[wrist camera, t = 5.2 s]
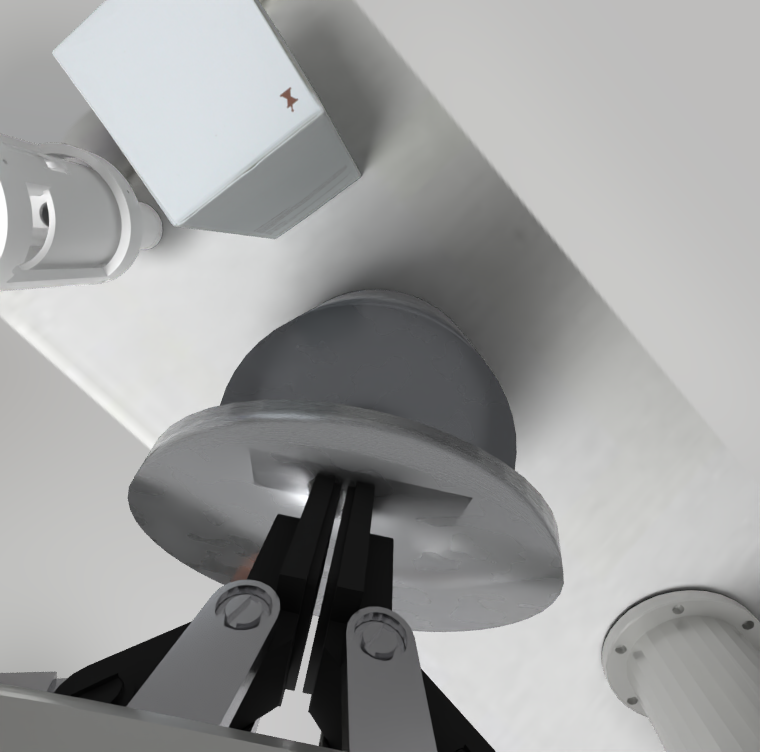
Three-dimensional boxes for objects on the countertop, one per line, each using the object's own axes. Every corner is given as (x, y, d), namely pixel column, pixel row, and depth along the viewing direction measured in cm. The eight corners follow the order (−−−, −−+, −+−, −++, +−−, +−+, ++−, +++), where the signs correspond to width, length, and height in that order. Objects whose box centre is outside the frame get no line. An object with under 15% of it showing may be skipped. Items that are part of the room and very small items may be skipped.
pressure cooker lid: (662, 474, 12) (709, 615, 9) (476, 620, 23) (476, 698, 21) (87, 345, 12) (-15, 454, 9) (190, 556, 23) (157, 627, 21)
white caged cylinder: (209, 256, 29) (16, 255, 15) (122, 294, 30) (-138, 328, 16) (159, 150, 28) (-113, 31, 13) (69, 195, 29) (-274, 129, 14)
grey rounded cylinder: (507, 316, 29) (558, 344, 19) (451, 506, 33) (469, 607, 23) (291, 267, 29) (234, 272, 19) (261, 463, 33) (201, 548, 23)
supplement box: (297, 66, 26) (201, -105, 14) (364, 178, 27) (330, 113, 15) (204, 141, 27) (41, 45, 15) (272, 243, 29) (173, 232, 17)
